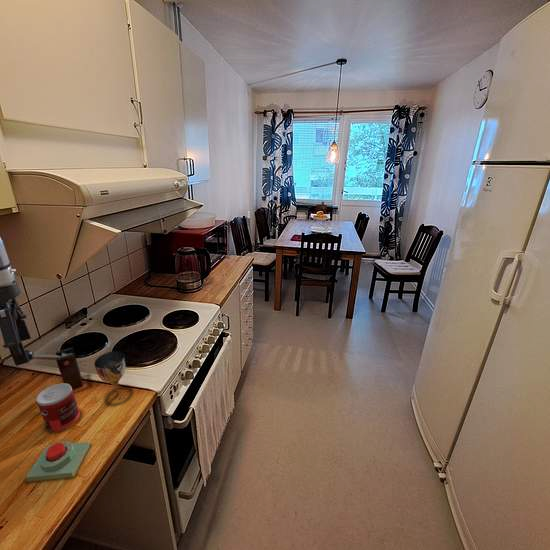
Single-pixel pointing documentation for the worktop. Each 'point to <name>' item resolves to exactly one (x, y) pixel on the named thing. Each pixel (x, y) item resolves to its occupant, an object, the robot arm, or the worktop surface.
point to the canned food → (58, 406)
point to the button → (55, 452)
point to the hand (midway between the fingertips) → (24, 350)
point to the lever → (43, 356)
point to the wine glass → (111, 368)
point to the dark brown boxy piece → (69, 368)
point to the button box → (58, 463)
